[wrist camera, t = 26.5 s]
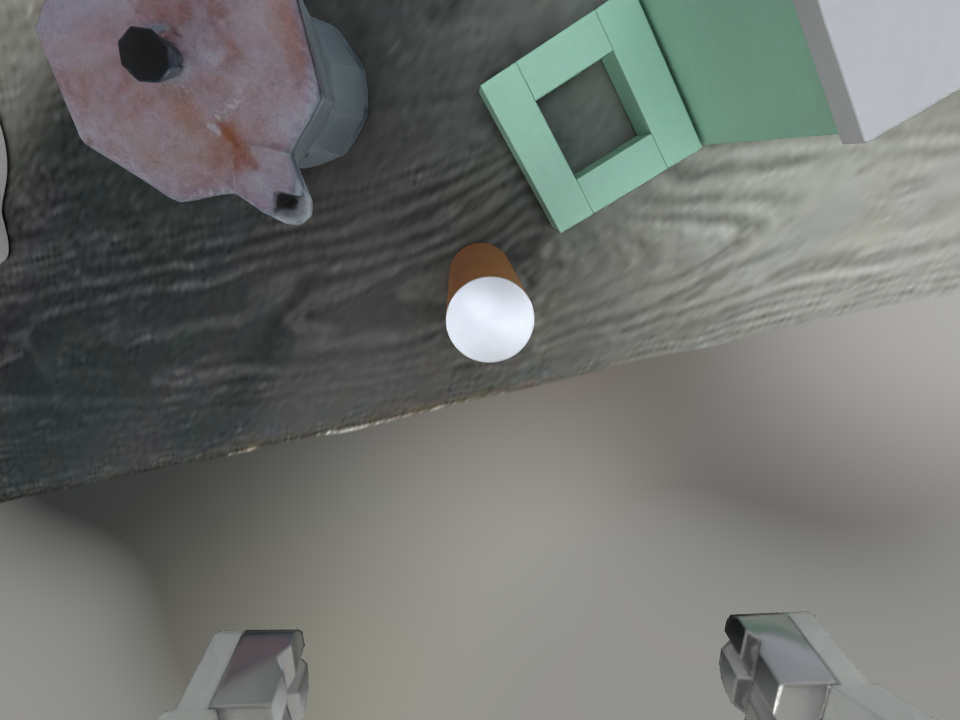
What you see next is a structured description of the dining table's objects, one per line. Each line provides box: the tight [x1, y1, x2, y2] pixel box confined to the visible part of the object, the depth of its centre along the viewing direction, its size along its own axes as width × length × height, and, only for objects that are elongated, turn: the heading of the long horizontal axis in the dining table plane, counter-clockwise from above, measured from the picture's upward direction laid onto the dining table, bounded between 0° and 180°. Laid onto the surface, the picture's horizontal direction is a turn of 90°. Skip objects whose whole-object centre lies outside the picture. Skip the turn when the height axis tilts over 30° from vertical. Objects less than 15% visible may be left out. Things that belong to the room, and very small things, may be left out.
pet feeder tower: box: [639, 0, 960, 145], centre depth 27 cm, size 7×11×18 cm, turn 31°
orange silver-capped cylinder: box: [446, 243, 534, 362], centre depth 34 cm, size 4×4×12 cm
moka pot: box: [35, 0, 368, 225], centre depth 26 cm, size 10×15×20 cm, turn 37°
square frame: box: [479, 0, 702, 233], centre depth 35 cm, size 10×10×3 cm
